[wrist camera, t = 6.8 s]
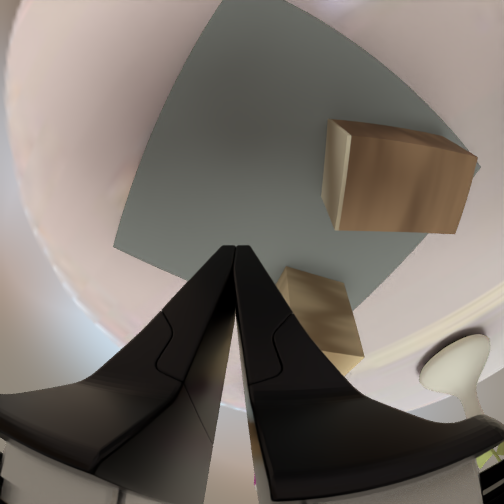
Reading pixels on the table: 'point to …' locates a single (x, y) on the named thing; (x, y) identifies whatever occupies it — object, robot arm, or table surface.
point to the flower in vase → (461, 377)
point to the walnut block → (394, 179)
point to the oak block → (324, 315)
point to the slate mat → (266, 150)
